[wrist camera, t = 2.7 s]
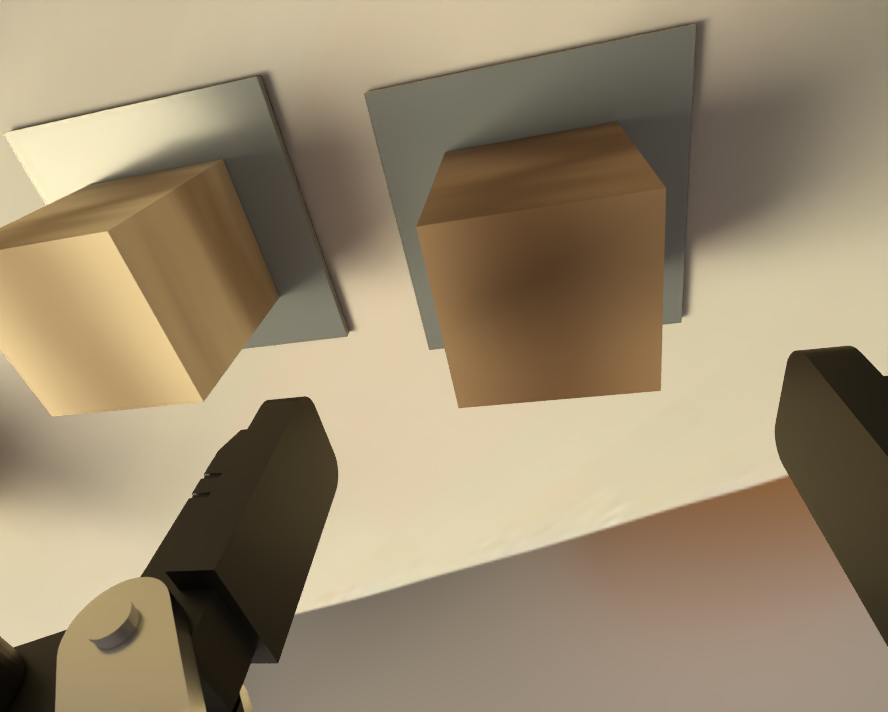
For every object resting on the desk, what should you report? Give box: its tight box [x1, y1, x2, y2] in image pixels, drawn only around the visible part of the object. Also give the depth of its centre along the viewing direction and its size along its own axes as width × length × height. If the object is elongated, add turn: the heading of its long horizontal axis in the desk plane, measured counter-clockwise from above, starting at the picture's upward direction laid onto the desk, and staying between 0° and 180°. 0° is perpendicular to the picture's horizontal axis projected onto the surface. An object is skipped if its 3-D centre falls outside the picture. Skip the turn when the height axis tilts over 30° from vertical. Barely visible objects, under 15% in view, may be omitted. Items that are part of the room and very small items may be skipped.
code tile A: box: [364, 24, 696, 350], centre depth 17 cm, size 9×9×1 cm
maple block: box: [0, 159, 280, 416], centre depth 17 cm, size 5×5×6 cm
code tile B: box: [3, 75, 349, 349], centre depth 19 cm, size 9×9×1 cm
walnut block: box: [416, 121, 666, 408], centre depth 15 cm, size 5×5×6 cm
